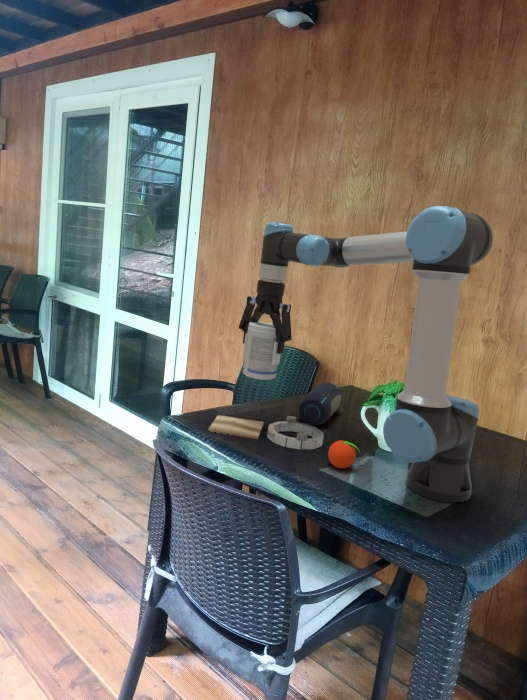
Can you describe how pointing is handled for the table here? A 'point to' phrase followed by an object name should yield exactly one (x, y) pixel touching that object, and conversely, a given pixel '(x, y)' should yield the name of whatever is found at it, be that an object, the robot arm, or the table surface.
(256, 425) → the mat
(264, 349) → the supplement tub
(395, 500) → the table surface
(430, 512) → the table surface
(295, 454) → the table surface
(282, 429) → the collar
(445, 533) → the table surface
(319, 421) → the portable speaker
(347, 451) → the clementine
